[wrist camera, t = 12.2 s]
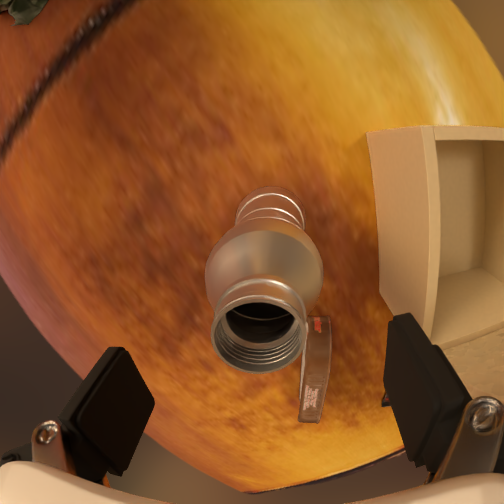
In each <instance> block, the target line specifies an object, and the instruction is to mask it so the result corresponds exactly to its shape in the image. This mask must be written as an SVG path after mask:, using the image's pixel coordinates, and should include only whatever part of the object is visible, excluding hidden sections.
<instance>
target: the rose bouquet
mask: <svg viewBox="0 0 504 504" xmlns="http://www.w3.org/2000/svg"><path fill="white" fill-rule="evenodd" d="M47 1H48V0H0V14H1V12H2V11H3V10H7V9H8V12H9V14H10V15H11V16H13V17H14V19H15V20H16V21H15V24H13V25H11V26H14V25H22V24H27V25H28V24H29V23H30V22H31V21H32V20H33V19H34V18H35V17H36V16H37V15H38V14H39V13H40V12H41V10H42V9H43V7H44V6H45V4H46V3H47Z"/></svg>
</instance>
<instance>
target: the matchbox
mask: <svg viewBox="0 0 504 504" xmlns="http://www.w3.org/2000/svg"><path fill="white" fill-rule="evenodd" d="M388 406H391V404H390V401H389V398H388V395H387V394H386V395H385V398H384V400H383V401H382V407H388Z"/></svg>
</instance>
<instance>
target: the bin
mask: <svg viewBox="0 0 504 504" xmlns="http://www.w3.org/2000/svg"><path fill="white" fill-rule="evenodd" d="M366 136H367V142H368V149H369V155H370V162H371V169H372V177H373V186H374V195H375V205H376V217H377V231H378V250H379V293H380V294H381V296H382V298H383V299H384V301H385V302H386V304H387V306H388V307H389V309H390V311H391V312H392V314H393V316H395V315H400V314H404V313H408V312H410V313H411V314H412V315H413V316H414V318H415V319H416V321H417V322H418V324H419V325H420V327H421V328H422V329H423V331H424V332H425V334H426V335H427V337H428V338H429V340H430V341H431V343H432V344H433V345H434V344H436V345H438V346H439V347H440V348H441V350H442V351H443V350H446V349H449V348H452V347H455V346H458V345H461V344H464V343H466V342H469V341H472V340H474V339H477V338H480V337H482V336H485V335H487V334H490V333H492V332H495V331H497V330H499V329H502V328H504V128H499V127H485V126H463V125H420V126H410V127H401V128H393V129H385V130H378V131H371V132H366Z"/></svg>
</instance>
